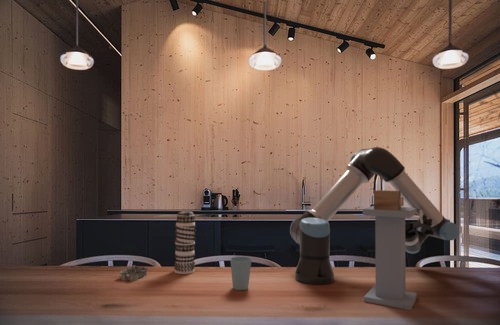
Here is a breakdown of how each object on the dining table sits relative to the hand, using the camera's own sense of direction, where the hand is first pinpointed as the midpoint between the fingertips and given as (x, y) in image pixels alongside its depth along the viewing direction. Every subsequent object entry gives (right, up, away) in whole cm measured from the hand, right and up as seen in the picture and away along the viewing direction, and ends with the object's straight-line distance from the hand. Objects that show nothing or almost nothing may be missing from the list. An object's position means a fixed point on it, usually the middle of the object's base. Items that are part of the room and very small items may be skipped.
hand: (401, 211), depth 138 cm
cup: (-62, -26, -10) cm, 68 cm away
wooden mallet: (-9, +4, -14) cm, 17 cm away
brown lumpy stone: (-105, -26, +2) cm, 108 cm away
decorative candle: (-86, -27, +12) cm, 91 cm away
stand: (-12, -26, -20) cm, 35 cm away
